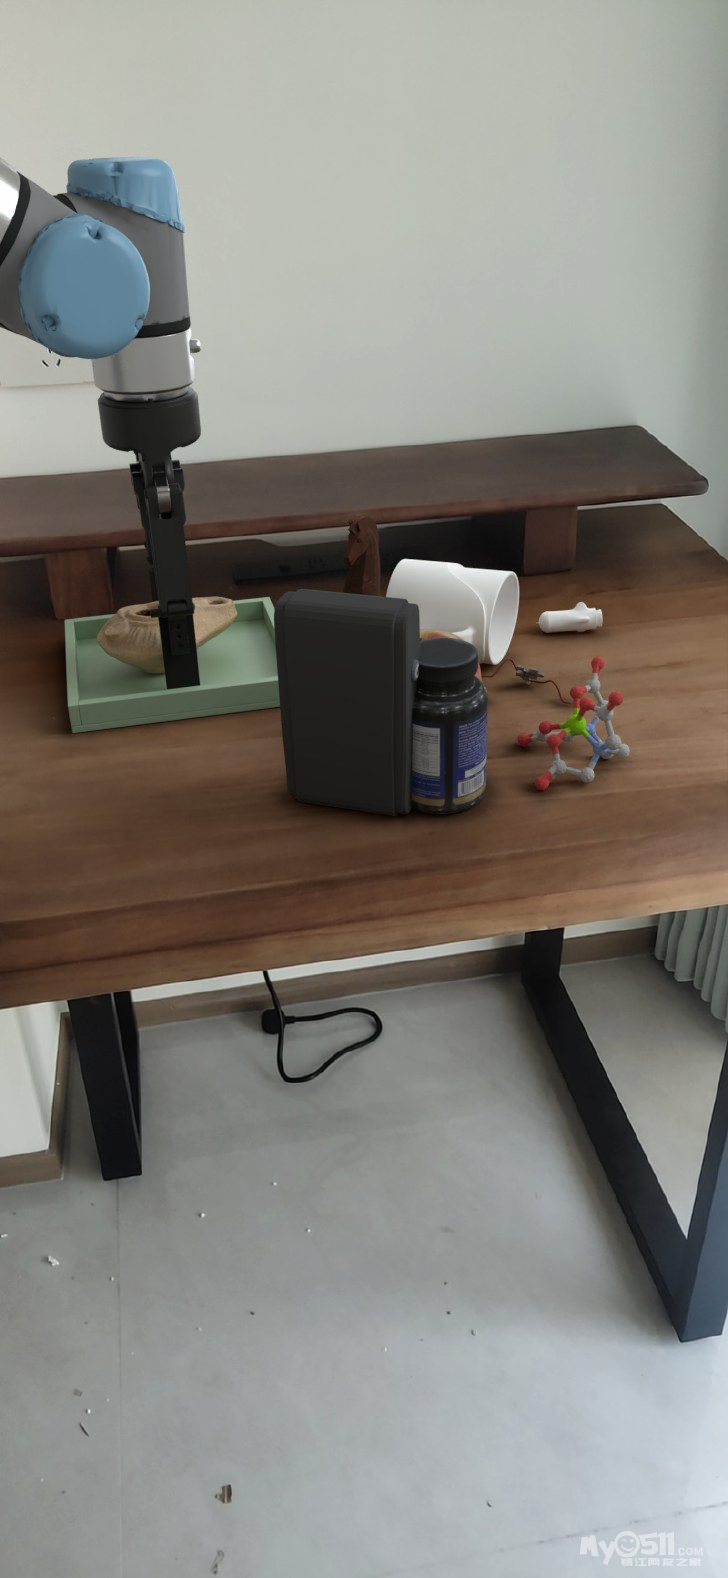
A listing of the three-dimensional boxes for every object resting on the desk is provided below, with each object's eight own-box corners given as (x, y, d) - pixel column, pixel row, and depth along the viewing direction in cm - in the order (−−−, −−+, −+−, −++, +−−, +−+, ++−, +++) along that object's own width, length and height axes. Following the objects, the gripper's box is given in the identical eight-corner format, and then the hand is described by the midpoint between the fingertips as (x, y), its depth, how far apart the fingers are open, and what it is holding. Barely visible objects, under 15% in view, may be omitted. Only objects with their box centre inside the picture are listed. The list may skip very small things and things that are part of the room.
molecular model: (608, 735, 90) (617, 645, 86) (638, 789, 83) (649, 694, 79) (514, 740, 89) (519, 650, 86) (536, 795, 83) (543, 700, 79)
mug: (417, 626, 108) (417, 542, 104) (517, 639, 105) (521, 553, 101) (370, 681, 98) (368, 591, 94) (478, 697, 95) (481, 605, 91)
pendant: (479, 648, 96) (479, 663, 99) (468, 697, 95) (467, 710, 97) (577, 667, 95) (574, 681, 98) (567, 716, 94) (564, 729, 96)
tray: (72, 733, 92) (67, 706, 91) (68, 643, 107) (64, 619, 106) (306, 703, 96) (304, 676, 94) (271, 620, 110) (269, 596, 109)
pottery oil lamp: (265, 646, 102) (250, 594, 96) (148, 721, 100) (124, 672, 93) (212, 586, 106) (195, 532, 100) (98, 656, 104) (72, 605, 97)
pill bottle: (474, 768, 86) (477, 628, 80) (495, 812, 81) (500, 666, 75) (390, 777, 85) (388, 636, 80) (407, 822, 80) (406, 675, 74)
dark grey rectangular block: (425, 794, 83) (426, 594, 75) (410, 824, 80) (409, 618, 72) (304, 776, 86) (292, 581, 78) (284, 805, 82) (269, 604, 75)
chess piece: (327, 626, 109) (322, 521, 104) (358, 608, 112) (355, 505, 107) (368, 636, 107) (365, 529, 101) (398, 617, 110) (397, 513, 105)
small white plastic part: (539, 620, 109) (545, 588, 108) (602, 636, 107) (609, 603, 106) (527, 630, 106) (534, 597, 105) (592, 647, 104) (599, 613, 103)
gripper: (214, 419, 81) (239, 712, 92) (182, 357, 99) (206, 608, 110) (102, 428, 79) (142, 724, 91) (91, 363, 97) (125, 617, 109)
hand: (177, 660), depth 101 cm, fingers closed on pottery oil lamp, 9 cm apart
